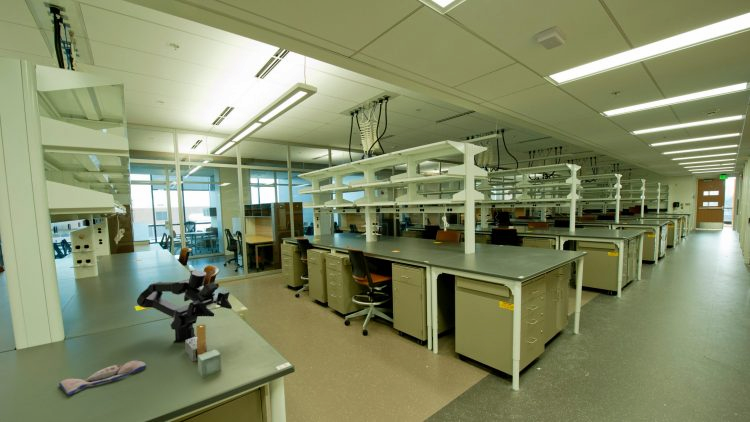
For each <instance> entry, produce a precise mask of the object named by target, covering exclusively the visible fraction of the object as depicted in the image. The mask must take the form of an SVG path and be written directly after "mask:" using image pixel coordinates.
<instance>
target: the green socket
mask: <svg viewBox="0 0 750 422" xmlns="http://www.w3.org/2000/svg"><path fill="white" fill-rule="evenodd" d="M221 359H222V357H221V353H220V352H219V351H218V350H217V349H213V350H209V351H207V352H206V353H203V354H201V355H198V360H197V371H198V373H199V375H200V376H201V378H205V377H207V376H210V375H213V374H216V373H218V372H220V371H222V360H221Z"/></svg>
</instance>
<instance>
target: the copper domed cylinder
mask: <svg viewBox="0 0 750 422" xmlns="http://www.w3.org/2000/svg"><path fill="white" fill-rule="evenodd" d="M195 329H196V337H197V350H196V356H197V361H198V355H201V354H203V353H206V345H207V337H206V336H207V335H206V330H207V329H206V324H200V325H197V326H196V328H195Z"/></svg>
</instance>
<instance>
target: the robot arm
mask: <svg viewBox="0 0 750 422" xmlns="http://www.w3.org/2000/svg"><path fill="white" fill-rule="evenodd" d="M206 276H207V272H206V271H203V270H197V269H192V270H191V271H190V275H189V279H184V280H180V281H175V282H174V281H173V282H171V281H167V282H166V281H165V282H164V281H158V282H154V283H151V284H149V285H148V286H147V287H146V289H144V290H143V291H142V292H140V294H139V295H138V298H137V300H136V304H137V305H138V306H139V307H140V308H144V309H151V308H153V309H155V310H156V311H158V312H161V313H163V314H165V315H168V316H169V317H171V318H172V319H173V321H172V322H171V324H170V329H171V330H174V334H175V335H174V337H175V338H174V340H173V343H174V344H175V343H185V340H187V339H190V338H194V337H196V334H195V327H194V324H196V323H197V320H198V317H211V318H213V317H215V313H214V312H213V311H212V310H210V309H209V307H211V306H213V305H217V306H219V307H220V308H223V309H228V310H231V309H232V308H233V305H232V304H231V303H230V301H229V295H230V292H229V291H228V290H224V291H221V292H218V293H217V295H216V293H215V292H216V290H218V289H219V288H220V284H219V283H218V282H216V281H214V282H209V283H206V284H205V281H206ZM201 287H202V289H201ZM164 292H165V293H166V292H167V293H169V292H171V293H172V294H174V295H178V296H179V295H182V294H184V296H183V301H184V302H189V301H191V302H189V304H187V305H184V306H178V305H176V304H173V303H172V302H169V301H168V300H165V299H164V298H162V296H163V293H164ZM215 296H217V297H215Z"/></svg>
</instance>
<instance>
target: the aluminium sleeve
mask: <svg viewBox="0 0 750 422" xmlns="http://www.w3.org/2000/svg"><path fill="white" fill-rule="evenodd" d="M184 349H185V350H184V351H185V353H186V354H187V356H188V357H189V359H190V360H191V361H192V362H196V361H197V362H198V360H197V356H196V350H197V336H194V337H193V338H190V339H187V340H185V342H184ZM206 352H208V344H206Z"/></svg>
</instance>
